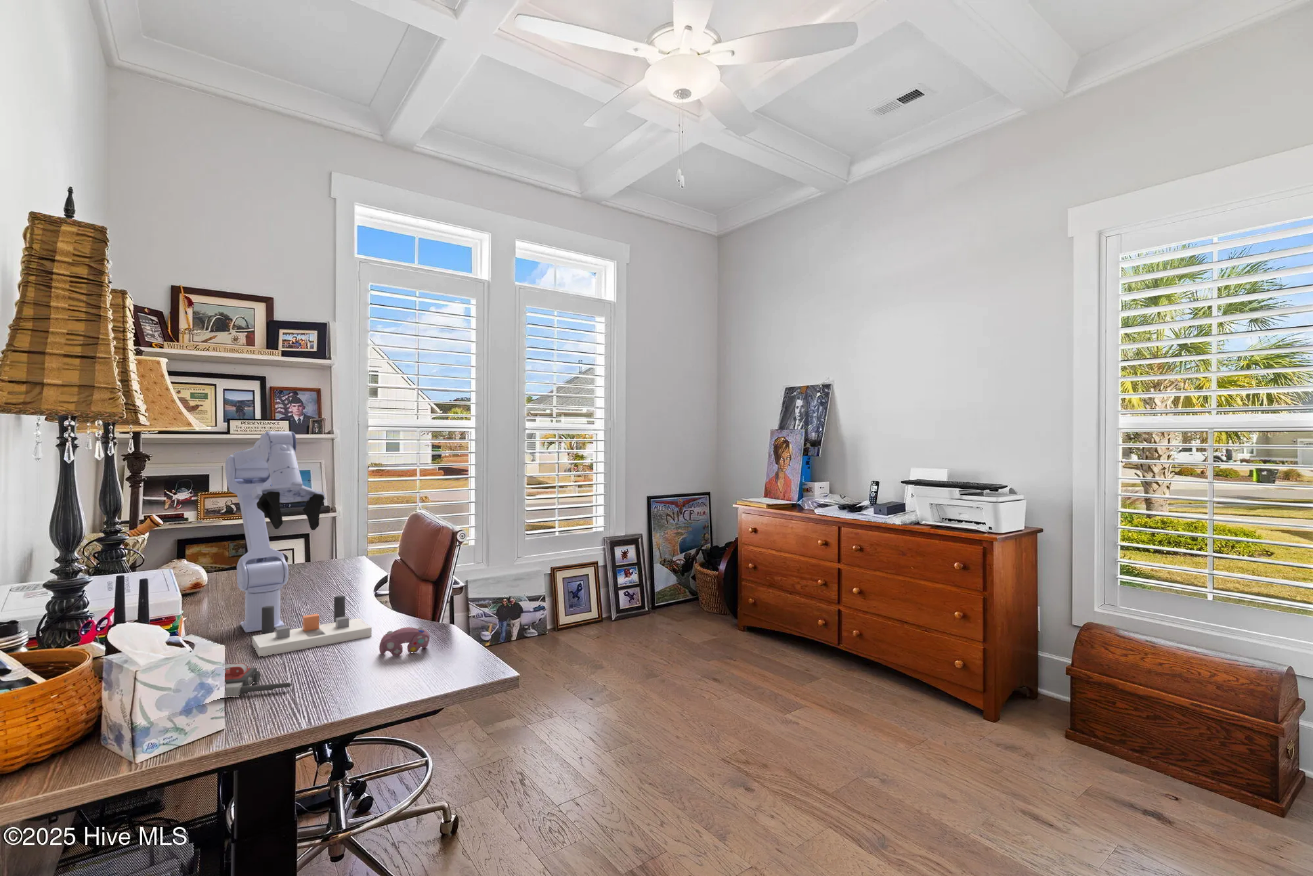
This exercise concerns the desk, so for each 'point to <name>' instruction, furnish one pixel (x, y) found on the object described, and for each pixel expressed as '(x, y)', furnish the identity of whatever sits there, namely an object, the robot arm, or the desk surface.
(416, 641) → the video game controller
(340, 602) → the post
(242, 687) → the toy chainsaw
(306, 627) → the slide switch
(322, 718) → the desk surface
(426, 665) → the desk surface
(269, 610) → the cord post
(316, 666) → the desk surface
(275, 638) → the off-white rectangular base
